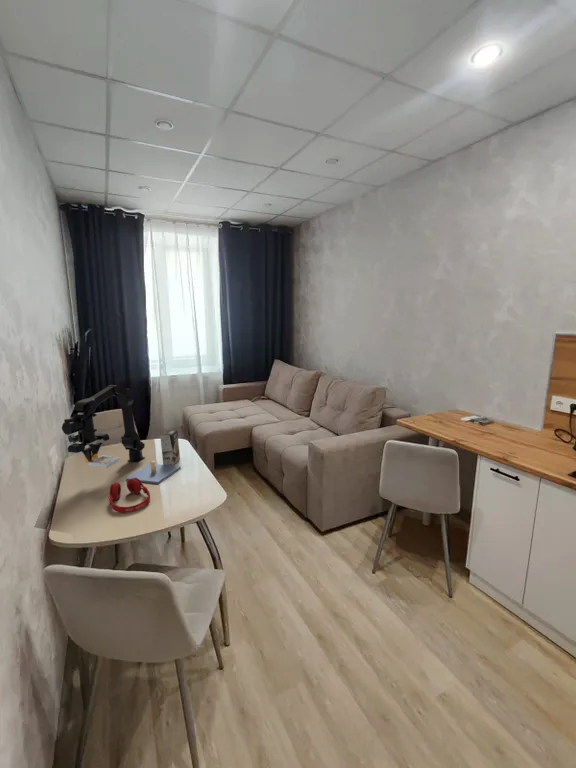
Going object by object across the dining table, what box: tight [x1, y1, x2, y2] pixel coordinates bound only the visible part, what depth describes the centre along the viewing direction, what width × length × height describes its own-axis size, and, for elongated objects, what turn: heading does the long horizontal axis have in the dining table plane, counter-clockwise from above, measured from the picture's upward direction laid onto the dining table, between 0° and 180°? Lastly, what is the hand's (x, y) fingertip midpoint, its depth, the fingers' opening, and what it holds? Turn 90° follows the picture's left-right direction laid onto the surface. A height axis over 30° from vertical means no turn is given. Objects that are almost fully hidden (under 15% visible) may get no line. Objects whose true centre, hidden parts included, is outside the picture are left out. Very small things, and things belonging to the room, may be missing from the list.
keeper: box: [125, 460, 181, 485], centre depth 177 cm, size 18×18×7 cm
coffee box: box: [159, 429, 181, 466], centre depth 192 cm, size 9×6×16 cm
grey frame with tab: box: [84, 452, 121, 469], centre depth 168 cm, size 15×8×4 cm, turn 73°
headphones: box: [108, 478, 151, 514], centre depth 151 cm, size 15×7×20 cm
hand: (91, 460), depth 170 cm, fingers closed on grey frame with tab, 2 cm apart
